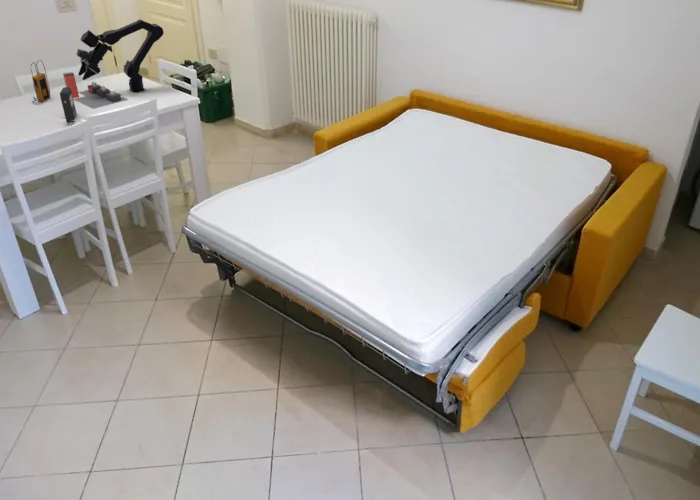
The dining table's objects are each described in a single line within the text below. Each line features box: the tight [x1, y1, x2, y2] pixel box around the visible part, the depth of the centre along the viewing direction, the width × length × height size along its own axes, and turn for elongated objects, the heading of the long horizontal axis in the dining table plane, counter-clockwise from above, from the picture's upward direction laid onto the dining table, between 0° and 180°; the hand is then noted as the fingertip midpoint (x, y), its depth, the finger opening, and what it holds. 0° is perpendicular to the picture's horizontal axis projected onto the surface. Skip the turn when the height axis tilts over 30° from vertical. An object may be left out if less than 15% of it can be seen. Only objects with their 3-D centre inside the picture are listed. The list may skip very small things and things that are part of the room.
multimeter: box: [30, 59, 51, 105], centre depth 303 cm, size 15×10×20 cm
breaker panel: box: [73, 81, 129, 110], centre depth 308 cm, size 22×28×6 cm
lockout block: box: [62, 71, 79, 98], centre depth 305 cm, size 5×4×12 cm
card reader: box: [59, 86, 78, 124], centre depth 282 cm, size 9×4×15 cm, turn 12°
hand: (81, 77), depth 306 cm, fingers open, 9 cm apart
